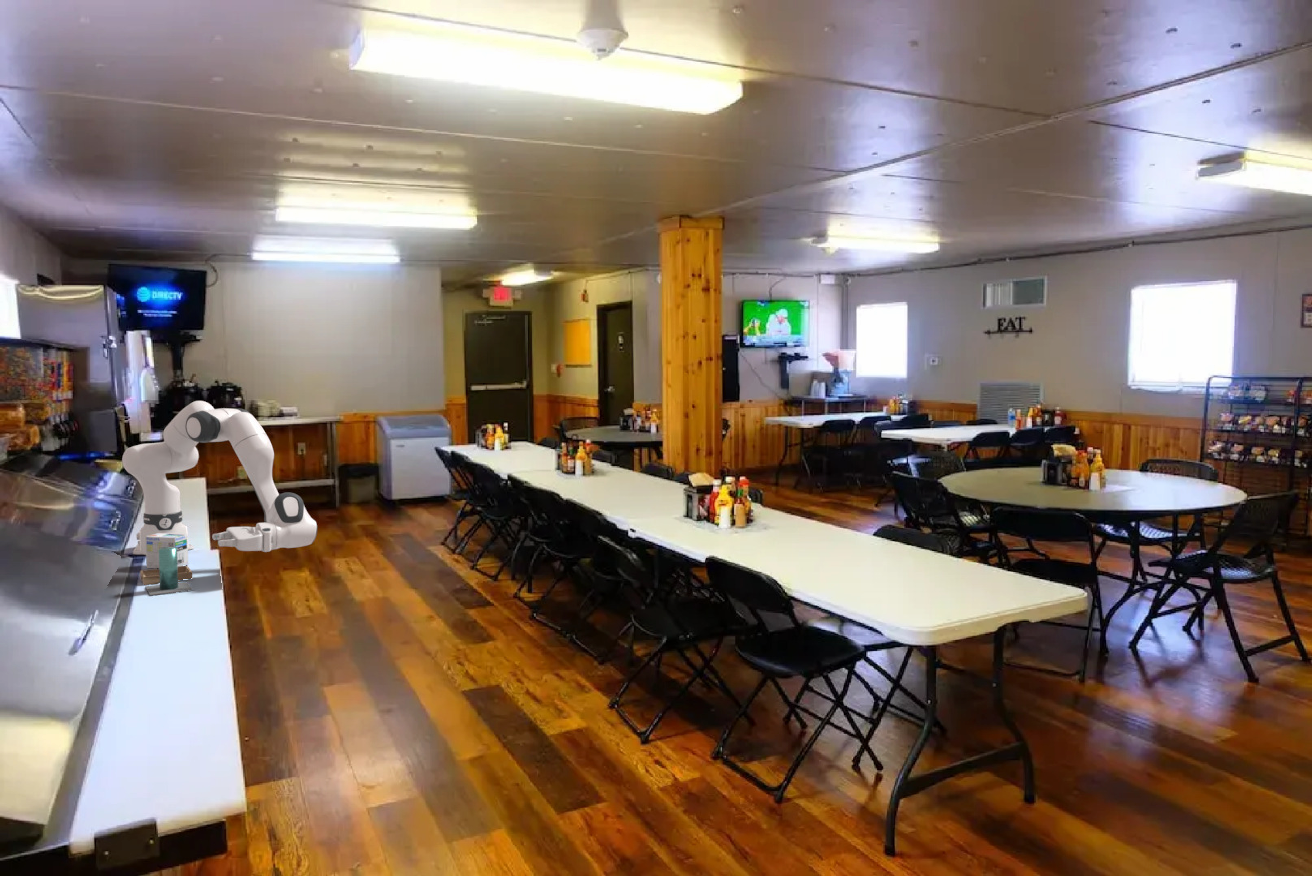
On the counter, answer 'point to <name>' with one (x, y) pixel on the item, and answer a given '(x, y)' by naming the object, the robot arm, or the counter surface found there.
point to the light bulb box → (166, 541)
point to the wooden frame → (153, 575)
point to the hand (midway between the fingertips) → (215, 540)
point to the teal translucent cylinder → (168, 568)
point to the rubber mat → (157, 591)
